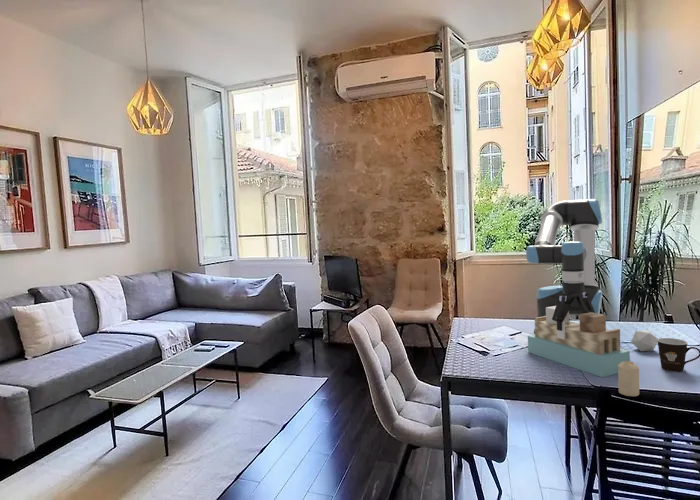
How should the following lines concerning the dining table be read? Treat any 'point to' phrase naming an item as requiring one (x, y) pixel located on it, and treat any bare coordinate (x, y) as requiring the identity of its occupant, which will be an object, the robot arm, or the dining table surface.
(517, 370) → the dining table surface
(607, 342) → the board
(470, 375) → the dining table surface
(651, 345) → the die
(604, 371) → the dock
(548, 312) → the light grey cube
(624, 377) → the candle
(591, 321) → the brown wooden cube
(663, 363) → the coffee mug
